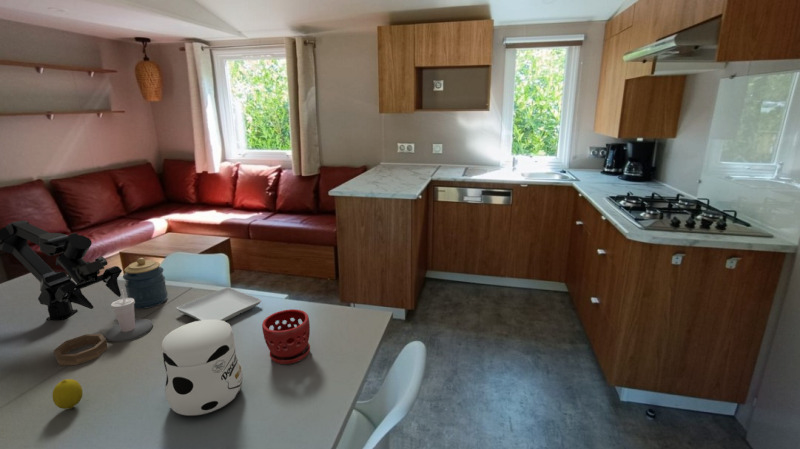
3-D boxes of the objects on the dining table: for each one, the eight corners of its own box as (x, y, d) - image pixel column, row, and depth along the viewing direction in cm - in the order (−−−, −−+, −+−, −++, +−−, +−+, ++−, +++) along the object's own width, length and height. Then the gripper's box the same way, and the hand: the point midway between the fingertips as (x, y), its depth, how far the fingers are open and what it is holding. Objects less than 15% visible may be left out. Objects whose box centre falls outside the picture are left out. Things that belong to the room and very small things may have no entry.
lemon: (67, 400, 100) (60, 373, 98) (90, 399, 101) (83, 372, 99) (50, 417, 95) (42, 388, 93) (75, 415, 96) (67, 387, 93)
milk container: (256, 397, 101) (248, 334, 96) (183, 435, 89) (169, 366, 85) (227, 367, 113) (219, 310, 108) (159, 398, 101) (146, 335, 96)
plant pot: (296, 338, 128) (294, 304, 124) (320, 355, 119) (317, 319, 115) (257, 355, 119) (253, 319, 116) (279, 375, 110) (276, 336, 107)
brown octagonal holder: (75, 343, 125) (73, 335, 124) (114, 341, 126) (112, 333, 125) (47, 366, 114) (44, 357, 113) (90, 364, 115) (87, 355, 114)
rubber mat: (120, 322, 138) (120, 319, 138) (160, 320, 139) (159, 317, 138) (96, 343, 125) (95, 340, 125) (139, 341, 126) (139, 338, 126)
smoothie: (135, 332, 129) (127, 293, 125) (113, 335, 128) (103, 295, 124) (142, 322, 135) (135, 284, 131) (121, 325, 134) (113, 286, 130)
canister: (155, 309, 146) (147, 264, 142) (120, 309, 147) (110, 264, 142) (175, 293, 159) (168, 252, 154) (143, 293, 159) (134, 252, 154)
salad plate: (264, 307, 149) (263, 298, 148) (211, 333, 131) (210, 323, 130) (228, 293, 160) (227, 286, 159) (175, 316, 142) (174, 307, 141)
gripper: (52, 262, 121) (85, 301, 120) (112, 243, 138) (142, 277, 137) (41, 282, 125) (73, 320, 125) (101, 262, 142) (129, 295, 142)
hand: (106, 301), depth 132 cm, fingers open, 9 cm apart
